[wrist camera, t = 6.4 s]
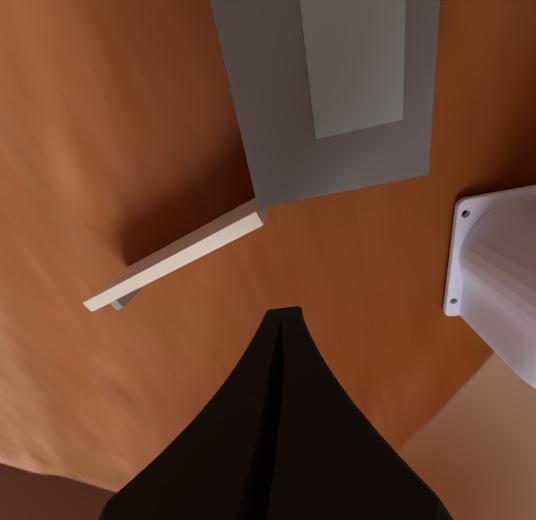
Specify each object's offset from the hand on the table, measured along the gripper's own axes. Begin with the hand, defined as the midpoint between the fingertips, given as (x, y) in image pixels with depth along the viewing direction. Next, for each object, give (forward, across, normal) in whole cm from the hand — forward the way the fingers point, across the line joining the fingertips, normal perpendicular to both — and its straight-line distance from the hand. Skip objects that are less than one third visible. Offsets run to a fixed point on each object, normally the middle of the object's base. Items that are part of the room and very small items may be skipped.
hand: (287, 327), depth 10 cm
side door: (+9, +7, -1) cm, 11 cm away
